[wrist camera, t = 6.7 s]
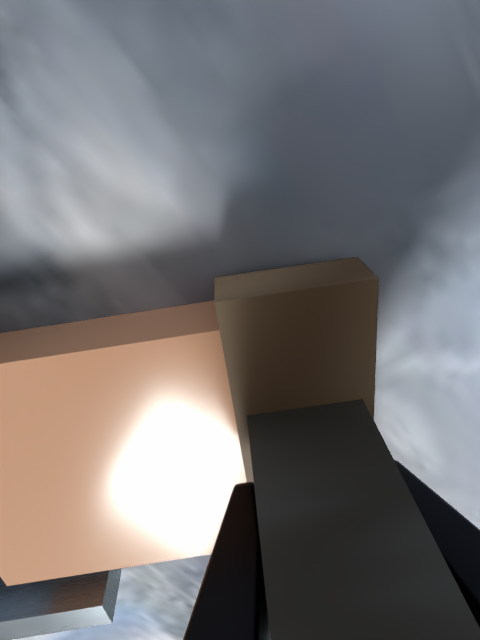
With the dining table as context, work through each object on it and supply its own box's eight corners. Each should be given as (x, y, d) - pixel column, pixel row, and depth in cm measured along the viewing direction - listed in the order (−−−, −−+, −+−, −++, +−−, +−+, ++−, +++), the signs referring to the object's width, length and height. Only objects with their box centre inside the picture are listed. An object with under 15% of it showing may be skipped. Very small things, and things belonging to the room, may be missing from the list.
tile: (217, 295, 9) (219, 330, 8) (252, 496, 12) (258, 546, 11) (-90, 341, 9) (-143, 385, 8) (29, 531, 12) (7, 586, 11)
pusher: (357, 256, 8) (633, 545, 3) (355, 507, 12) (472, 839, 7) (214, 277, 8) (214, 603, 3) (257, 521, 12) (291, 861, 7)
